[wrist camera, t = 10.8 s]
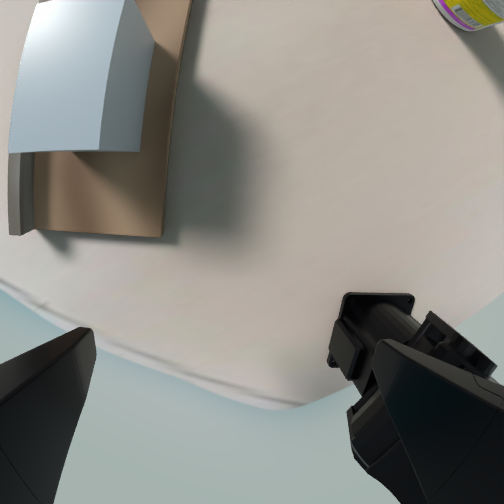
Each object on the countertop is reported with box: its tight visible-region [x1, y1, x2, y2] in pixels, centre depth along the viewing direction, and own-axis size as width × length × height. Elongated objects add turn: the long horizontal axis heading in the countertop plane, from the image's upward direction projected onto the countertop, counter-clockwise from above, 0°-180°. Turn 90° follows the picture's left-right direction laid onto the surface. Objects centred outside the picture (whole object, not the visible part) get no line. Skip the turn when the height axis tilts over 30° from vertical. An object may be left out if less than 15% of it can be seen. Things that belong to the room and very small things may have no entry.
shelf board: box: [8, 0, 193, 238], centre depth 15 cm, size 10×17×3 cm, turn 174°
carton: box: [8, 0, 155, 153], centre depth 12 cm, size 5×7×7 cm
